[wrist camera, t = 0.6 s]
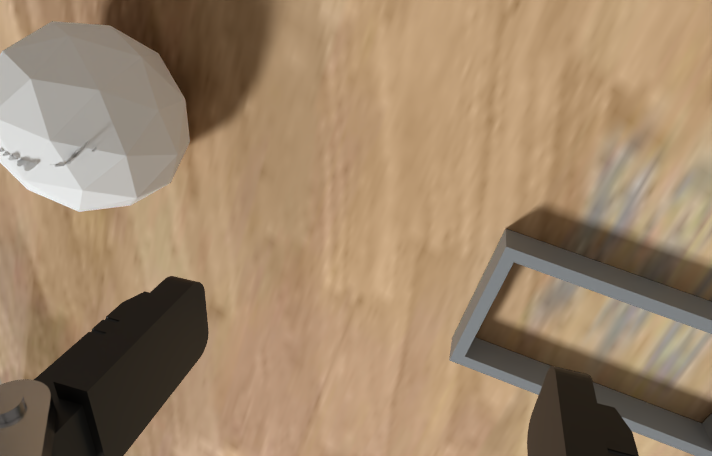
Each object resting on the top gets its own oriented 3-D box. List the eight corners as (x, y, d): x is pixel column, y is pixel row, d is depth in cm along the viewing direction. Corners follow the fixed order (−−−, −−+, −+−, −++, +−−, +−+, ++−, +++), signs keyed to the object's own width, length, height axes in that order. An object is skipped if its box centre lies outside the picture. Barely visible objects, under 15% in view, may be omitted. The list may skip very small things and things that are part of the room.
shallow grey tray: (505, 228, 38) (506, 246, 36) (805, 335, 36) (829, 362, 33) (452, 337, 44) (449, 360, 42) (706, 435, 42) (720, 465, 39)
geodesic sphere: (185, -15, 30) (-83, 28, 24) (249, 188, 36) (46, 270, 29) (130, 15, 41) (-63, 50, 35) (185, 167, 47) (28, 223, 40)
